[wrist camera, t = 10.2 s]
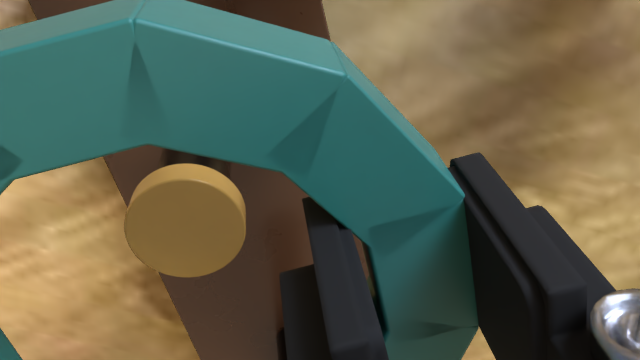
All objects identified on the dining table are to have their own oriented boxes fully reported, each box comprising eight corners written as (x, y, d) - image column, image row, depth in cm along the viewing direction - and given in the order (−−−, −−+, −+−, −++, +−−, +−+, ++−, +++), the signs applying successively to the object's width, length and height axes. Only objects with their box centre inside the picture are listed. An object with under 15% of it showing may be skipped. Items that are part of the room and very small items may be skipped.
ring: (403, -77, 9) (438, -64, 7) (469, 390, 15) (496, 454, 13) (-284, 103, 9) (-395, 155, 8) (43, 500, 15) (20, 577, 13)
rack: (298, -91, 21) (350, -44, 11) (399, 357, 33) (468, 577, 23) (34, -21, 21) (-155, 89, 11) (230, 401, 33) (226, 638, 23)
